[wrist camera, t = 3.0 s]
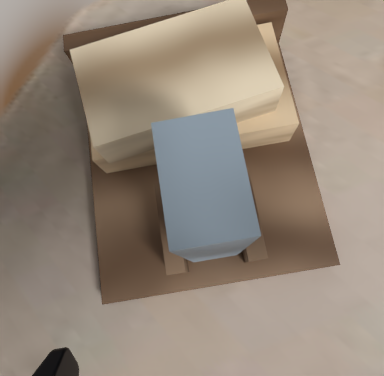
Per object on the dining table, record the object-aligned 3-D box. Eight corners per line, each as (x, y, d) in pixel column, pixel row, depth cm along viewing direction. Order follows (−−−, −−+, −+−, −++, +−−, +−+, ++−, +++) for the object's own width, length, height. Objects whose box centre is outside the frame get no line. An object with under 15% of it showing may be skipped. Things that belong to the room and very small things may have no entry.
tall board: (237, 255, 19) (261, 235, 9) (193, 262, 19) (169, 251, 9) (224, 190, 20) (233, 107, 10) (183, 197, 20) (150, 122, 10)
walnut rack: (333, 265, 19) (363, 263, 16) (107, 302, 20) (81, 310, 16) (272, 38, 24) (283, -7, 20) (87, 73, 24) (63, 35, 20)
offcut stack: (290, 145, 21) (313, 107, 16) (106, 178, 21) (74, 150, 16) (265, 48, 22) (279, -13, 18) (97, 80, 23) (65, 28, 18)
